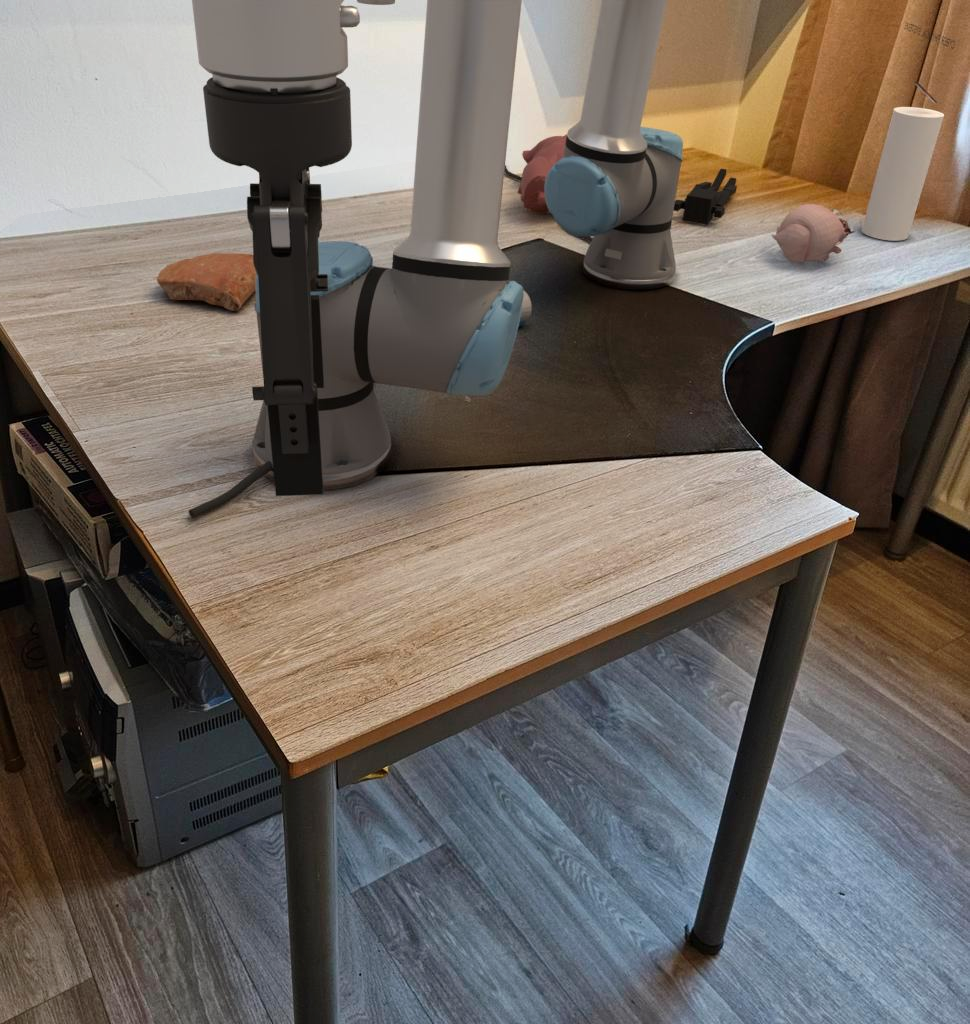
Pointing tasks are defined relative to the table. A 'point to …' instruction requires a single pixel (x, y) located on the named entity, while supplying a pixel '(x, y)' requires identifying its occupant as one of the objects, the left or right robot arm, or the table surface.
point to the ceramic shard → (211, 279)
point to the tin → (377, 2)
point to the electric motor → (525, 309)
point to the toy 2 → (811, 233)
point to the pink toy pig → (539, 171)
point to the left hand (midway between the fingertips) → (302, 434)
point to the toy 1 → (707, 200)
